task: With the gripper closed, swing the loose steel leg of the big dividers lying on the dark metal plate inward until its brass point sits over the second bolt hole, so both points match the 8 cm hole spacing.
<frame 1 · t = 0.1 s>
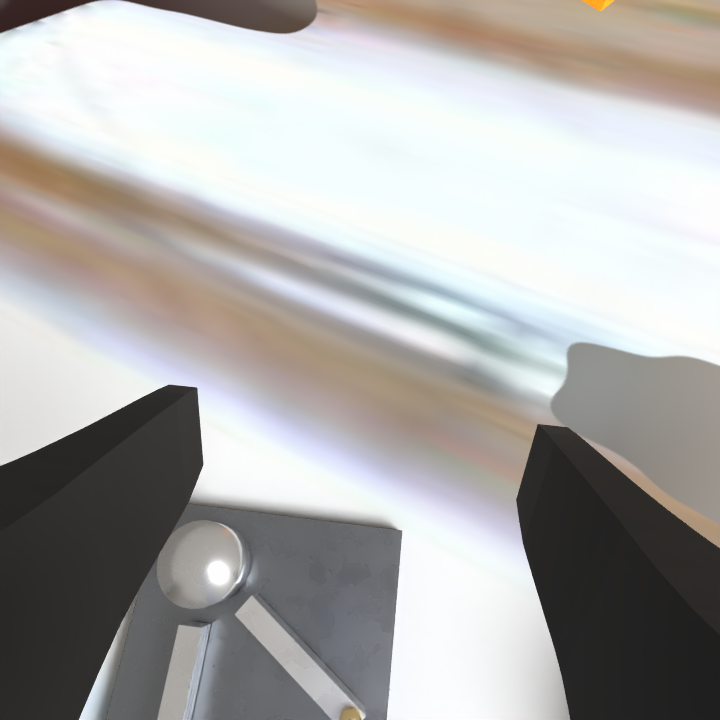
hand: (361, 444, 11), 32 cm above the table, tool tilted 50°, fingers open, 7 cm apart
bolt plate: (258, 665, 37), on the table
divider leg: (300, 661, 34), point 3 cm above the table, hinge at 55.0°
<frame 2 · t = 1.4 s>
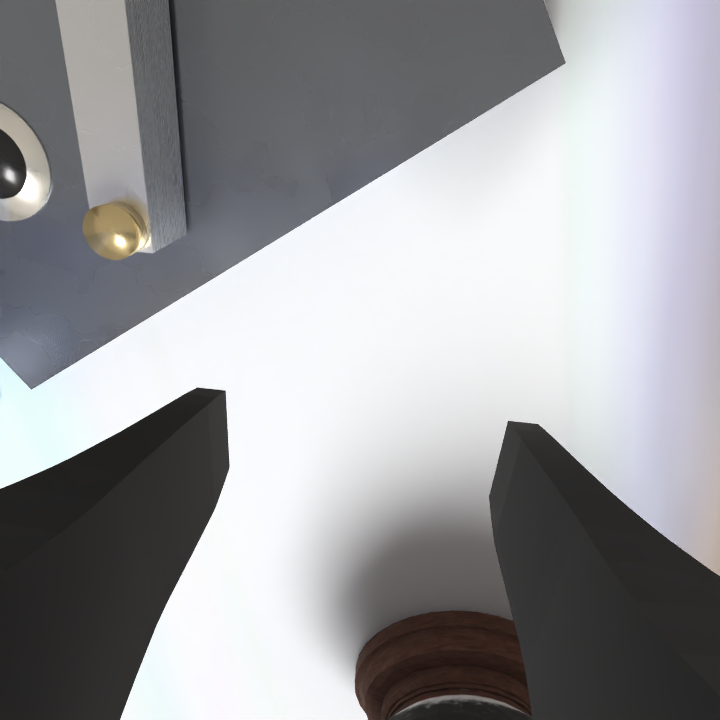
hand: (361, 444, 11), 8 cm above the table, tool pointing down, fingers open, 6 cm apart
black ball on base: (456, 675, 28), on the table
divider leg: (113, 27, 12), point 3 cm above the table, hinge at 55.0°
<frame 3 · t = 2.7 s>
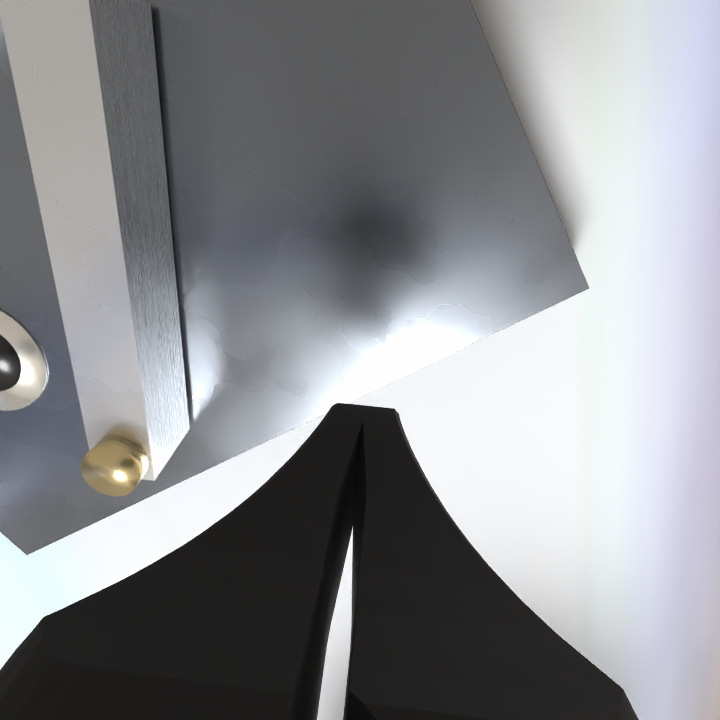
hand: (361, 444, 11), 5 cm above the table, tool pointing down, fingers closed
bolt plate: (64, 158, 14), on the table
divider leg: (112, 271, 11), point 3 cm above the table, hinge at 55.0°
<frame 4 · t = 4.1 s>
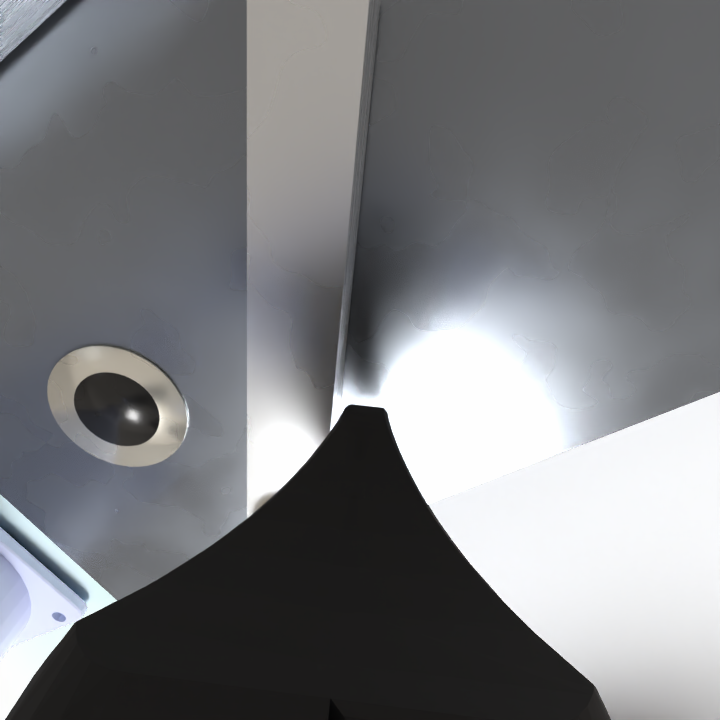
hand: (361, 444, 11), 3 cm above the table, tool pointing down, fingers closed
bolt plate: (222, 182, 12), on the table
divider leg: (301, 321, 10), point 3 cm above the table, hinge at 53.3°, touching gripper
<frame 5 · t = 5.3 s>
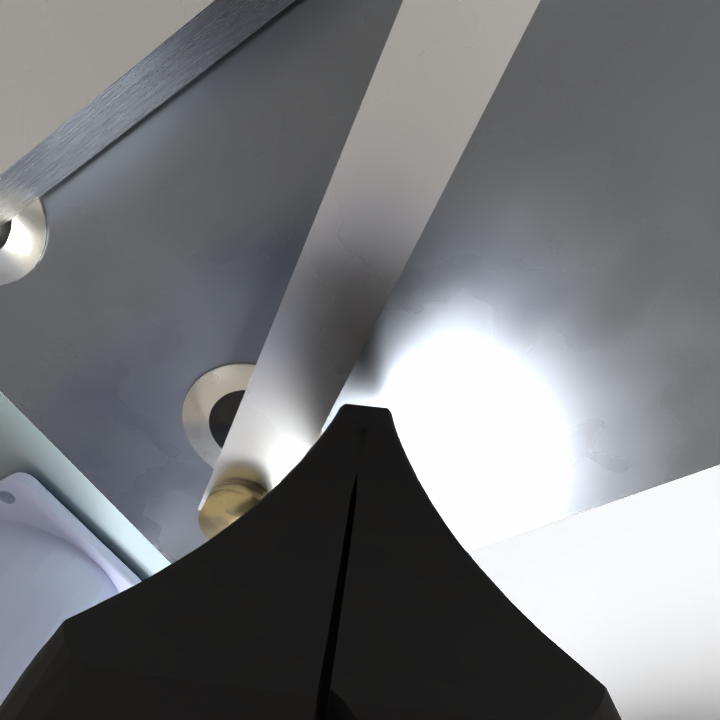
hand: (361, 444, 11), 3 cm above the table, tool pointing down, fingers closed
bolt plate: (371, 201, 12), on the table
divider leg: (332, 301, 9), point 3 cm above the table, hinge at 35.0°, touching gripper
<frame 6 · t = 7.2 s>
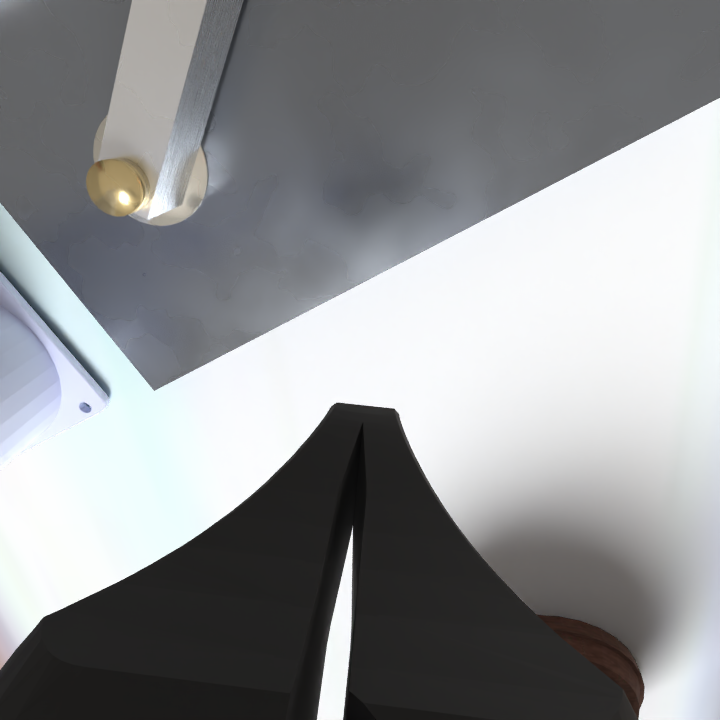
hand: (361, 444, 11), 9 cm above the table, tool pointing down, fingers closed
black ball on base: (530, 678, 28), on the table
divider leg: (186, 0, 12), point 3 cm above the table, hinge at 35.0°
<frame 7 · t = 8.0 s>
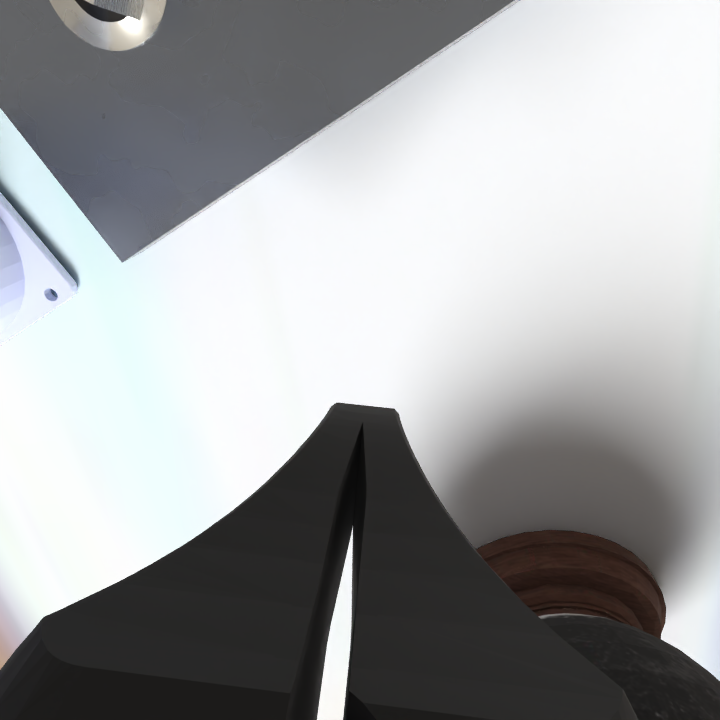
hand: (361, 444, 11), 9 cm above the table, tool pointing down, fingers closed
black ball on base: (542, 606, 26), on the table
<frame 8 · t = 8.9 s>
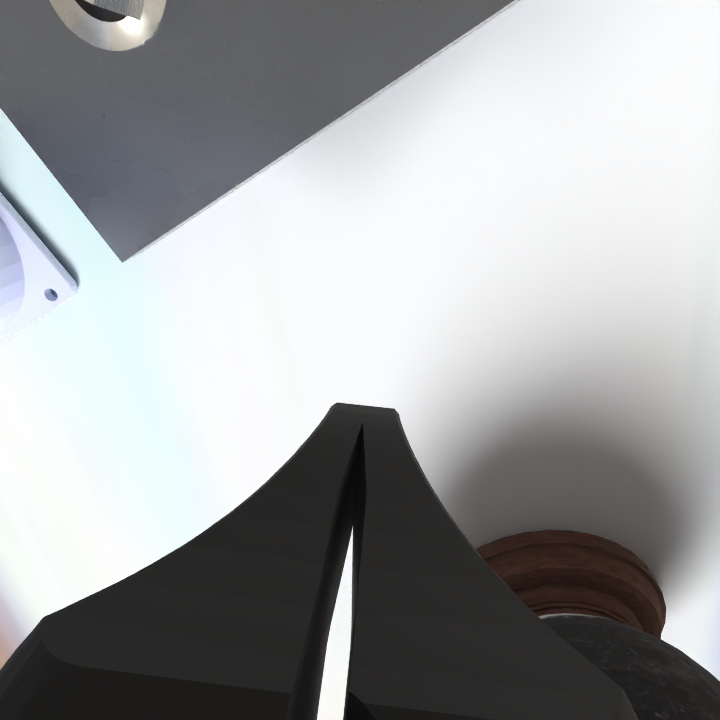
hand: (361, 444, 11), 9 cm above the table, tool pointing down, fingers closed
black ball on base: (542, 606, 26), on the table
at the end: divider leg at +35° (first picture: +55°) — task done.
